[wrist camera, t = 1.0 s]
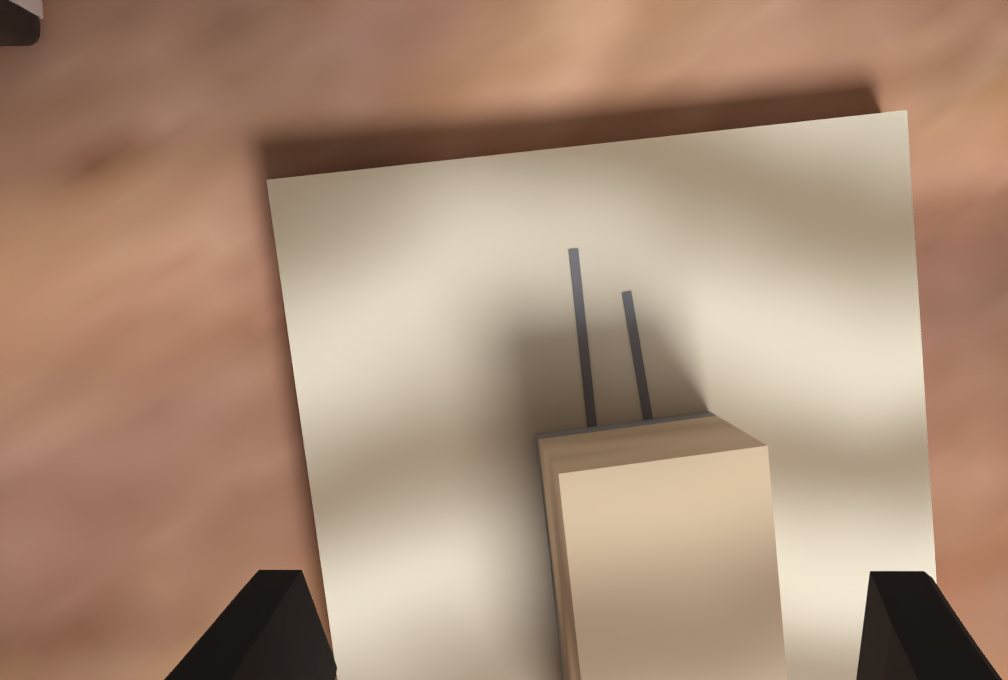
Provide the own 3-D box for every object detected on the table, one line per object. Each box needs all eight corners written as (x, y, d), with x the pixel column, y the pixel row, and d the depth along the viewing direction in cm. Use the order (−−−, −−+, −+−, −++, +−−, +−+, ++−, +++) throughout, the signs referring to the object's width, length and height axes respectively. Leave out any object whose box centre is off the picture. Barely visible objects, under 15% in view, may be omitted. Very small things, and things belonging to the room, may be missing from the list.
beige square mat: (920, 686, 26) (945, 708, 25) (358, 774, 25) (354, 802, 23) (883, 116, 24) (907, 109, 23) (274, 183, 23) (265, 179, 22)
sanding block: (736, 705, 24) (796, 796, 20) (569, 731, 24) (597, 829, 20) (709, 411, 23) (767, 445, 19) (535, 434, 23) (558, 473, 19)
